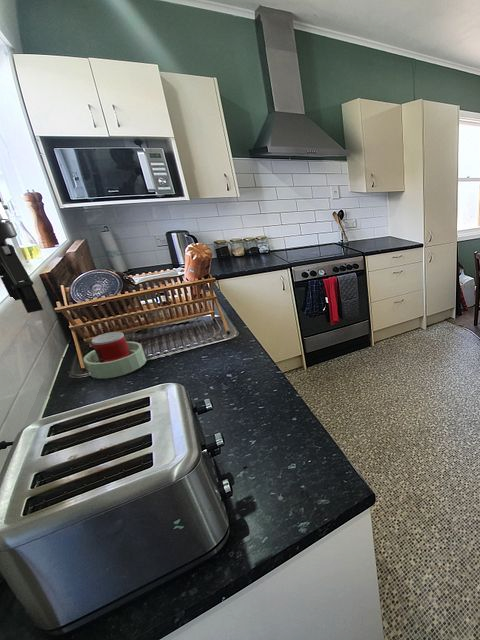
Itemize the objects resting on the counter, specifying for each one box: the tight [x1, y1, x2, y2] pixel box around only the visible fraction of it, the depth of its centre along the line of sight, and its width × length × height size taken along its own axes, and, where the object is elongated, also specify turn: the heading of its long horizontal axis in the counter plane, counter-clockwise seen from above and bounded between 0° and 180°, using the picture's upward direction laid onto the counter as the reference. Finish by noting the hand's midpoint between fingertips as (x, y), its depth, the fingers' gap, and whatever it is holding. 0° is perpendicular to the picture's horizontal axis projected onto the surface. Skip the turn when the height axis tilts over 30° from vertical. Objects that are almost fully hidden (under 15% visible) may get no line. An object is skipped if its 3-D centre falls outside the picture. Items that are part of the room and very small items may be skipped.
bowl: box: [82, 341, 147, 380], centre depth 114 cm, size 15×15×6 cm
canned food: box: [91, 331, 131, 363], centre depth 113 cm, size 8×8×11 cm
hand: (27, 305), depth 90 cm, fingers open, 13 cm apart
